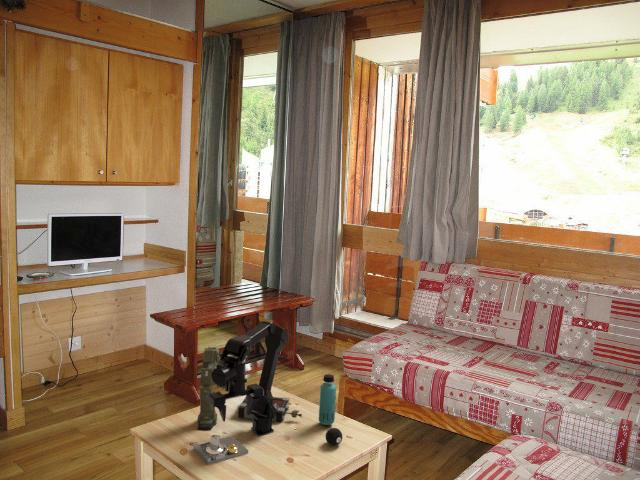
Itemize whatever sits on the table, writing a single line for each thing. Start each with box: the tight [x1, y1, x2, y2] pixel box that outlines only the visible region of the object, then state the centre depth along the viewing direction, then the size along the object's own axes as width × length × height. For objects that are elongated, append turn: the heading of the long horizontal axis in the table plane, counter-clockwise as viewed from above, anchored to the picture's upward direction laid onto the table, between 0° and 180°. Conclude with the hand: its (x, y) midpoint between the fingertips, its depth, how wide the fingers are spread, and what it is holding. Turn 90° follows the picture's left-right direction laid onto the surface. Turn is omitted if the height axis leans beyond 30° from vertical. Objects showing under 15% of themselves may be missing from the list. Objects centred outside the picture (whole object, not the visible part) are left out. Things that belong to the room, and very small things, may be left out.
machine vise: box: [237, 395, 303, 423], centre depth 220 cm, size 15×25×5 cm, turn 82°
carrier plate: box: [193, 435, 249, 466], centre depth 189 cm, size 15×12×4 cm
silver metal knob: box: [206, 434, 224, 455], centre depth 185 cm, size 6×6×6 cm
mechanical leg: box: [197, 346, 221, 431], centre depth 208 cm, size 14×7×30 cm, turn 179°
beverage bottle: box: [318, 373, 337, 426], centre depth 212 cm, size 6×7×20 cm
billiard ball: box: [325, 427, 343, 447], centre depth 197 cm, size 6×6×6 cm
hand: (236, 418), depth 189 cm, fingers open, 9 cm apart
